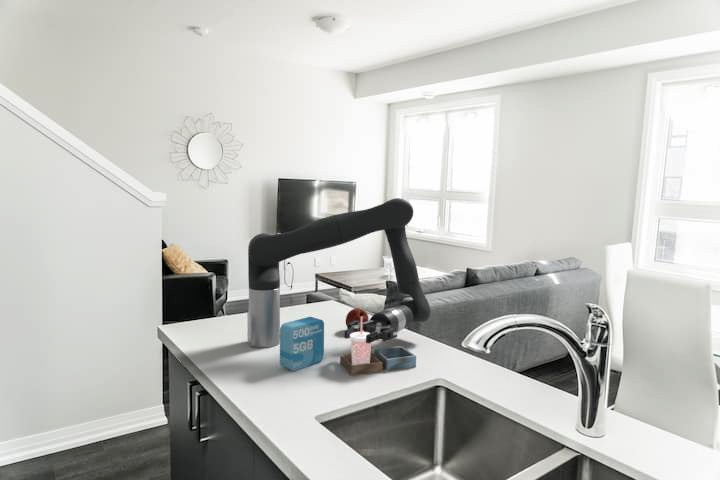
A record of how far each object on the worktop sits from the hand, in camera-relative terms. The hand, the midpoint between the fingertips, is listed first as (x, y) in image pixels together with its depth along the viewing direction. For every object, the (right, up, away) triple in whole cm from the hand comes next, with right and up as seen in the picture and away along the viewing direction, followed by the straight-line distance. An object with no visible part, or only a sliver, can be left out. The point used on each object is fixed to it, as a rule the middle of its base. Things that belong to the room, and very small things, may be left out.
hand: (356, 337), depth 127 cm
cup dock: (+6, -9, +5) cm, 11 cm away
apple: (0, -5, +35) cm, 36 cm away
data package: (-15, -8, +5) cm, 18 cm away
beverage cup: (+1, -9, +3) cm, 10 cm away
